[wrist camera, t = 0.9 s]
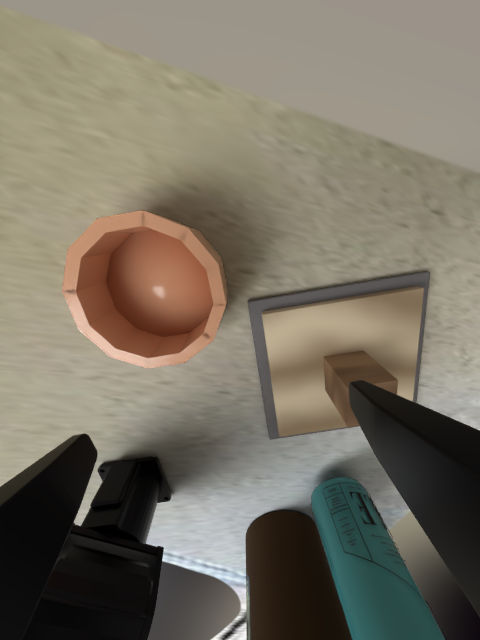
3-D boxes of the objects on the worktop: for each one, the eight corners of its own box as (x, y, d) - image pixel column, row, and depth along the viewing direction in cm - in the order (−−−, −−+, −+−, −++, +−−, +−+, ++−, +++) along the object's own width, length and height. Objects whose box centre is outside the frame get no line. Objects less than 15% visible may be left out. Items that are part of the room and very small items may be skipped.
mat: (411, 414, 24) (414, 417, 24) (269, 435, 25) (269, 439, 24) (425, 271, 19) (430, 272, 19) (247, 300, 20) (247, 302, 19)
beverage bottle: (298, 499, 28) (429, 1023, 9) (314, 458, 26) (523, 1030, 7) (349, 504, 29) (569, 1008, 10) (368, 465, 27) (695, 1012, 8)
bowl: (235, 330, 21) (235, 354, 17) (125, 348, 21) (98, 376, 17) (212, 208, 17) (205, 198, 13) (82, 231, 18) (35, 229, 13)
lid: (405, 411, 24) (451, 458, 19) (278, 430, 24) (290, 481, 19) (416, 286, 19) (480, 302, 14) (261, 311, 20) (270, 336, 15)
